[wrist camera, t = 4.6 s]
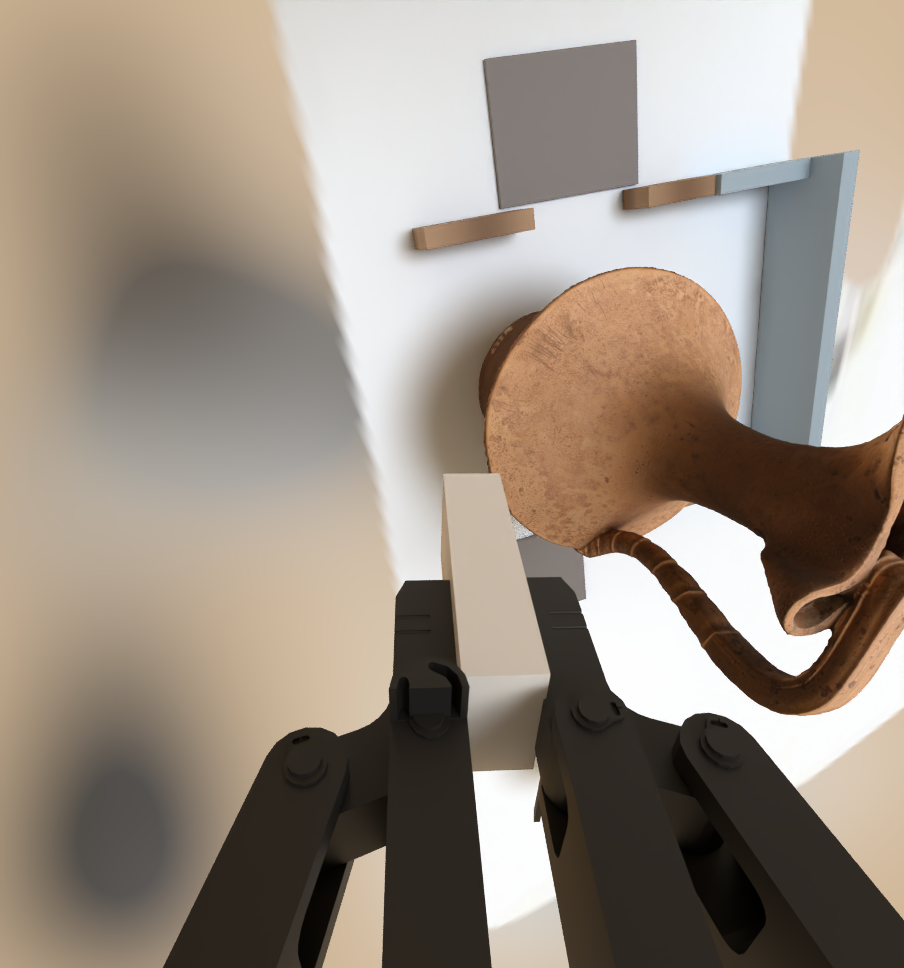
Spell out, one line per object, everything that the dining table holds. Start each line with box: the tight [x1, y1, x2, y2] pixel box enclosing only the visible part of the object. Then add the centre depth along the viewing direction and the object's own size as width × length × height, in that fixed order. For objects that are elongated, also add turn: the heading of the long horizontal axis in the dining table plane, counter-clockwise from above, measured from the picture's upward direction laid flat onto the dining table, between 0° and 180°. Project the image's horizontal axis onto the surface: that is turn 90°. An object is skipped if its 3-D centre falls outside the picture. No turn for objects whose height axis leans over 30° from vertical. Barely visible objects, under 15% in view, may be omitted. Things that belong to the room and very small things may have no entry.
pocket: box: [701, 150, 860, 447], centre depth 43 cm, size 8×24×6 cm, turn 10°
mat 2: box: [517, 535, 586, 601], centre depth 49 cm, size 10×8×1 cm
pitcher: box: [479, 267, 904, 716], centre depth 31 cm, size 18×17×28 cm
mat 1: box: [484, 40, 638, 209], centre depth 36 cm, size 10×8×1 cm
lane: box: [412, 175, 716, 507], centre depth 42 cm, size 20×24×3 cm
